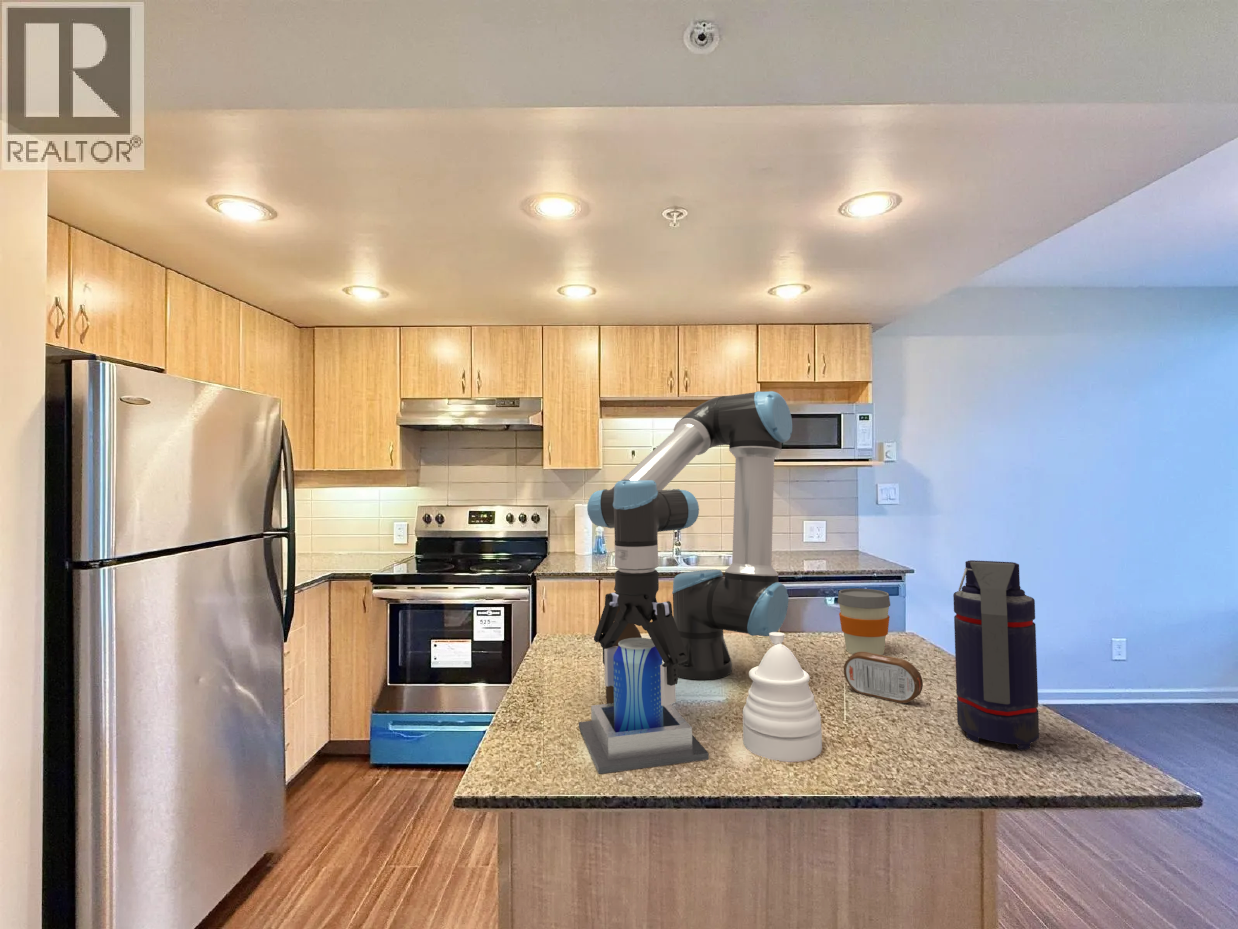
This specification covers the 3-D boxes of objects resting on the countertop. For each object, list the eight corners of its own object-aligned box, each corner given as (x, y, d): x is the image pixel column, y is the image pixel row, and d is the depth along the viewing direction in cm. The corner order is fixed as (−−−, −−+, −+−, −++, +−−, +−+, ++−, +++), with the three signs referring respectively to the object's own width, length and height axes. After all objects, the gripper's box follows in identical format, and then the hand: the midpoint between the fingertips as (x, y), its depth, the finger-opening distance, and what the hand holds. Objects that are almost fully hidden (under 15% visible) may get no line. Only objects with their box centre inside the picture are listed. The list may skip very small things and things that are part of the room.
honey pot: (737, 728, 108) (735, 628, 109) (809, 728, 108) (807, 627, 108) (750, 762, 96) (748, 647, 96) (832, 762, 95) (829, 647, 96)
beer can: (660, 749, 98) (658, 650, 99) (609, 745, 100) (608, 648, 100) (666, 728, 106) (664, 637, 107) (619, 725, 108) (618, 635, 109)
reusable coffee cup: (834, 644, 162) (832, 588, 162) (883, 645, 160) (881, 588, 160) (845, 658, 149) (843, 597, 150) (898, 659, 148) (896, 597, 148)
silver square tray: (672, 717, 114) (672, 693, 114) (708, 759, 97) (708, 731, 97) (578, 727, 110) (578, 702, 110) (598, 774, 92) (598, 744, 92)
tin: (924, 704, 118) (922, 661, 119) (918, 709, 116) (917, 665, 116) (848, 687, 129) (847, 647, 129) (842, 691, 126) (841, 651, 127)
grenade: (958, 717, 111) (953, 555, 112) (1036, 730, 105) (1030, 558, 106) (956, 747, 100) (950, 564, 100) (1044, 763, 93) (1037, 569, 94)
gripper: (573, 565, 110) (575, 682, 110) (677, 580, 92) (679, 720, 92) (604, 560, 116) (606, 672, 115) (707, 574, 98) (710, 706, 97)
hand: (638, 693), depth 103 cm, fingers open, 13 cm apart
